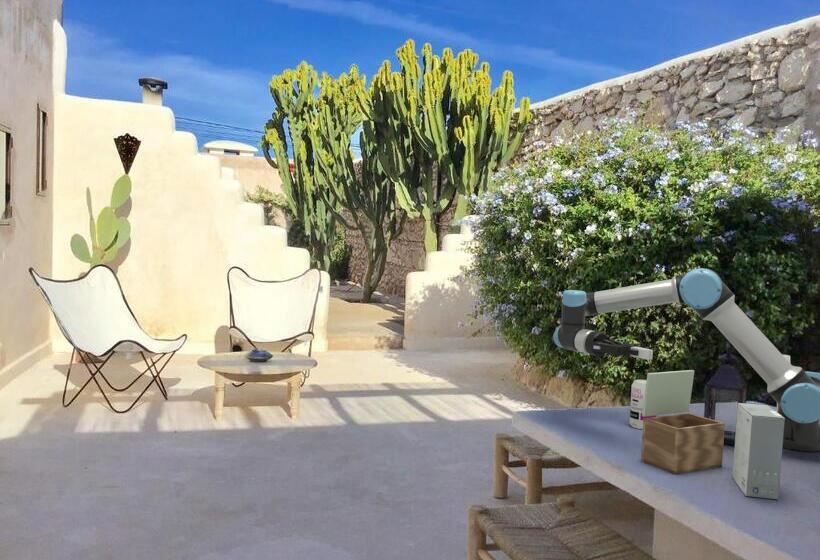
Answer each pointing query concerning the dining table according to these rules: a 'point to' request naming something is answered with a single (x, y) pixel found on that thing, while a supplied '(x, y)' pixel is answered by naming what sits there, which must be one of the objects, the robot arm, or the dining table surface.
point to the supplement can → (637, 404)
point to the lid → (668, 392)
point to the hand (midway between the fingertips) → (649, 354)
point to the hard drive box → (758, 450)
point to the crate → (682, 443)
